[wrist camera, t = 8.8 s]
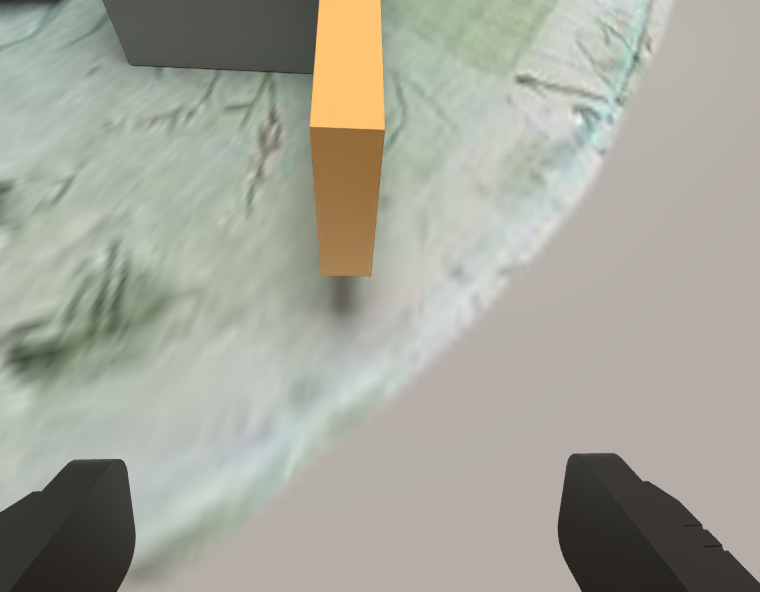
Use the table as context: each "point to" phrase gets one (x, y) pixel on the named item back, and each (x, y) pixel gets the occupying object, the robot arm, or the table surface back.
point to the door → (347, 133)
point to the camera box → (218, 33)
